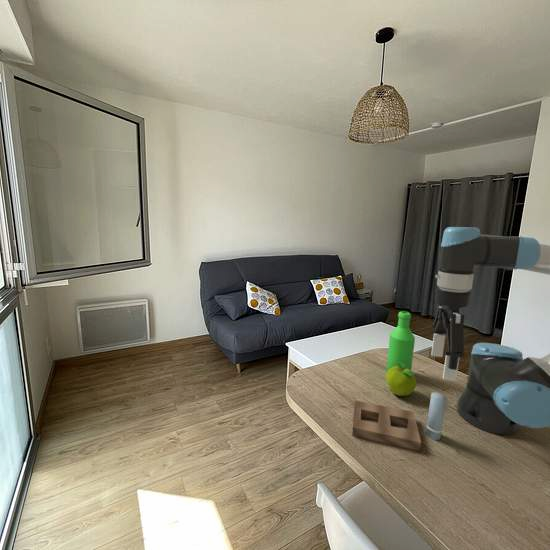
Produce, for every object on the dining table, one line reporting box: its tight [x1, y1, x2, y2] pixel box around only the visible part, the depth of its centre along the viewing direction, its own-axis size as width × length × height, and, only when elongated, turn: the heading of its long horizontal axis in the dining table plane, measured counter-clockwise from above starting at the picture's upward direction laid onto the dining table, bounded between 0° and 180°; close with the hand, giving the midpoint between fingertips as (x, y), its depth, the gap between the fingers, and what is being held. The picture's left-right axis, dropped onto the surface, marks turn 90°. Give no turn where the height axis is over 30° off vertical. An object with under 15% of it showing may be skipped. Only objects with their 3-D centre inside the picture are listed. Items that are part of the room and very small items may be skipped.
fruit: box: [385, 362, 417, 397], centre depth 100 cm, size 9×9×10 cm
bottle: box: [386, 310, 416, 372], centre depth 111 cm, size 9×9×25 cm
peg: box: [425, 391, 447, 441], centre depth 80 cm, size 4×4×12 cm
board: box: [351, 399, 422, 452], centre depth 83 cm, size 17×13×2 cm
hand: (442, 367), depth 77 cm, fingers open, 13 cm apart
